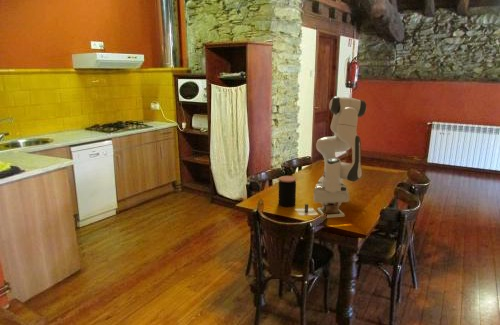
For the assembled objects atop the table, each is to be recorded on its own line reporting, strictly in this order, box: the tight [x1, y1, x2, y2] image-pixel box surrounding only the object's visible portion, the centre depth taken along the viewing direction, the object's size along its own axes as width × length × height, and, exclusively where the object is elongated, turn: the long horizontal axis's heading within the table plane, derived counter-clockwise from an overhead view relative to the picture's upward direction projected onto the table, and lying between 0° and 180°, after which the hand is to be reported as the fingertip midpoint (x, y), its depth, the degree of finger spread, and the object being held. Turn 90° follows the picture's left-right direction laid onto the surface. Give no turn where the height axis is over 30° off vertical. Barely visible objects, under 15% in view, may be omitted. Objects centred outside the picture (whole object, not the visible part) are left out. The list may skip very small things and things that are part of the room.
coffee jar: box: [278, 175, 297, 208], centre depth 219 cm, size 11×11×18 cm
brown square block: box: [323, 202, 339, 214], centre depth 205 cm, size 6×6×4 cm
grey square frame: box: [316, 207, 345, 219], centre depth 206 cm, size 12×12×2 cm
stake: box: [294, 203, 320, 217], centre depth 208 cm, size 11×11×6 cm
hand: (330, 209), depth 206 cm, fingers closed on brown square block, 6 cm apart
